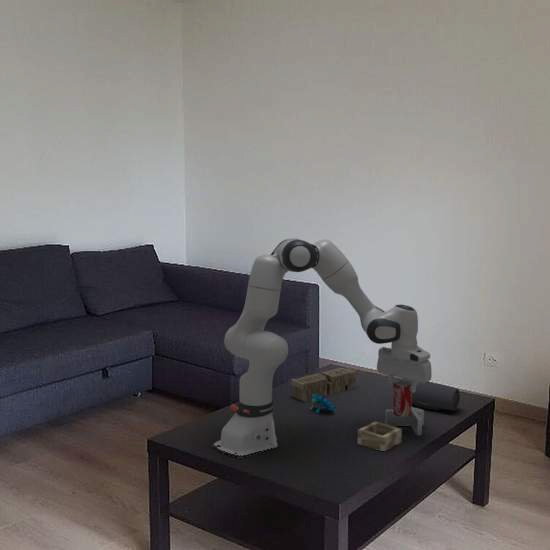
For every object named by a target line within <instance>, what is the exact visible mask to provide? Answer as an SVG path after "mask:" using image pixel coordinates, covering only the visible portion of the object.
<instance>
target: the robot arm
mask: <svg viewBox="0 0 550 550" xmlns="http://www.w3.org/2000/svg"><path fill="white" fill-rule="evenodd" d="M311 269H313V270H314V272H316V273H317V275H318V276H319V277H320V278H321V280H322V281H323V283H324V284H325V285H326V287H328V288H329V289H330V290H331V291H332V292H333V293H334V294H337V295H340V296H342V297H343V298H344V299H346V301H348V303H349V304H350V305H351V307H352V308H353V309H354V311H355V312H356V314H357V315H358V317H359V320H360V326H361V328H362V330H363V331H364V332H365V334H366V336H367V338H368V339H369V340H370V341H371V342H372V343H374V344H378V345H380V344H381V345H382V344H383V345H384V344H388V343H389V344H391V346H390V347H385V346H382V347H380V348H379V349H378V352H377V353H378V355H377V356H378V357H377V358H378V359H377V364H376V370H377V371H378V373H380V374H385V375H387V379H388V381H389V385H390V388H393V389H394V386H395V384H396V382H397V381H395V379H394V378H395V377H396V378H400V379H401V378H403V379H408V380H412V383H413V386H411V387H409V389H410V390H409V392H412V393H414V392H415V391H416V386H417V385H418V383H419V382H421V383H427V382H430V381H431V380H432V375H433V374H432V363H431V361H430V360H429V359H430V358H431V353H430V352H428V351H427V350H424V348H422V347H420V346H419V345H418V340H417V339H418V338H417V336H418V333H419V317H418V312H417V310H416V309H414V307H412V306H410V305H405V304H396V305H394V306H393V307H392V308H390V309H388V310H386V311H385V310H384V309H382V308H380V307H378V306H376V305H374V304H373V302H372V301H371V300H370V299H369V297H368V296H367V294H366V293H365V292H364V291H363V289H362V287H361V285H360V284H359V283H360V282H359V277H358V274H357V272H356V271H355V269H354V267H353V265H352V264H351V262H350V261H349V259H348V258H347V257H346V255H345V254H344V253H343V252H342V251H341V249H339V247H337V246H336V244H334V243H333V242H332V241H331V240H328V239H321V240H318V241H316V242H315V243H314V244H312V243H310V242H308V241H306V240H301V239H300V238H299V239H298V238H293V237H292V238H287V239H284V240H281V242H279V244H277V246H276V247H275V248H274V249H273V251H272V252H271V253H270V254H262V255H260V256H258V257H256V258H255V259H254V262H253V265H252V267H251V270H250V274H249V278H248V282H247V283H248V284H247V290H246V297H245V302H244V306H243V309H242V312H241V314H240V316H239V319H238V320H237V322H236V323H235V324H234V325H232V326H231V327H229V329H227V331H226V333H225V335H224V338H223V339H224V341H223V343H224V347H225V349H226V350H227V351H228V352H229V353H231V354H232V355H233V356H236V357H238V358H241V359H244V360H247V361H248V363H249V364H248V369H247V371H246V372H244V373H242V375H241V376H240V377H239V383H238V384H239V386H238V388H239V389H238V390H239V392H238V393H239V396H238V397H239V400H238V402H237V404H236V405H235V404H234V403H231V405H230V408H229V409H230V410H231V411H234V412H235V413H234V414H233V415H232V417H230V419H229V420H228V422H227V423H226V424H225V425H224V427H223V428H222V430H221V435H220V440H217V441H216V442H214V443H213V446H214V445H215V446H217V445H220V446H221V447H217V448H218V449H220V450H222V451H225V452H228V453H231V454H235V453H237V454H235V455H239V456H240V455H241V456H243V455H248V454H251V453H255V452H258V451H262V452H264V451H263V450H266V451H268V450H267V449H269V450H271V448H272V449H275V448H277V447H278V446H279V445H278V442H277V441H278V438H277V436H276V429H275V421H274V415H273V412H274V399H273V380H274V376H275V372H276V370H277V368H278V367H279V366H280V365H281V364H283V363H284V361H285V360H286V359H287V357H288V354H289V346H288V343H287V341H286V339H285V338H284V337H282V336H281V335H278V334H276V333H275V332H271V331H269V330H265V327H266V324H267V322H268V321H269V319H272V318H273V317H275V316H276V315H277V313H278V310H279V303H280V297H281V291H282V283H283V279H284V276H285V275H286V274H287V273H288V272H291V273H303V272H306V271H308V270H311Z"/></svg>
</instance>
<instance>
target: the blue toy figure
mask: <svg viewBox="0 0 550 550" xmlns="http://www.w3.org/2000/svg"><path fill="white" fill-rule="evenodd" d="M312 398H313V399H312V400H311V403H312V405H311V407H310V408H309V409H310V410H311V411H312V410H314V407H315V406H316V407H318V408H317V409H316V411H315V414H319V413H320V411H321V410H322V409H323V408H324V409H326V410H327V409H328V410H329V411H335V409H336V406H335V405H334V404H333V403H332V402H330V401H329V400H328V399H327V398H324V397H322V396H318V395H317V394H313V395H312Z"/></svg>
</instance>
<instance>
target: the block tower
mask: <svg viewBox="0 0 550 550" xmlns="http://www.w3.org/2000/svg"><path fill="white" fill-rule="evenodd" d="M356 378H357V370H354V369H351V368H349V367H348V368H343V367H339V368H338V367H337V368H334V369H329V370H326V371H323V372H320V373H318V372H317V373H314V374H309V375H305V376H302V377H299V378H298V377H297V378H291V379H290V385H291V386H292V387H293V398H294V397H295V399H297V400H300V401H303V402H305V403H306V402H312V399H313V398H312V395H313V394H317V395H318V396H322V397H323V398H324V396H325V397H327V396H331V394H332V395H334V394H339V393H342V391H343V392H346V389H347V391H349V389H350V390H353V388H354V389H356V382H357V381H356ZM338 392H339V393H338ZM328 394H329V395H328Z"/></svg>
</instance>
